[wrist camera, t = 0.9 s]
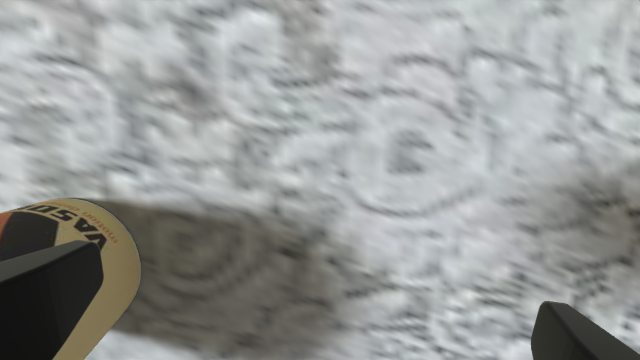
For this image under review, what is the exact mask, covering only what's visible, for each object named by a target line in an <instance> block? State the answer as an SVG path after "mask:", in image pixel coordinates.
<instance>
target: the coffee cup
mask: <svg viewBox="0 0 640 360" xmlns="http://www.w3.org/2000/svg"><path fill="white" fill-rule="evenodd" d="M75 240H84V241H92V242H95V243H97V244H98V246H99V248H100V253H101V259H102V266H103V272H104V280H103V283H102V286H101V288H100V289H99V291H98V293H97V294H96V296H95V297H94V299H93V300H92V302H91V303H90V305H89V307H88V308H87V310H86V311H85V313H84V314H83V316H82V317H81V319H80V321H79V322H78V324H77V325H76V327H75V328H74V330H73V332H72V333H71V335H70V336H69V338H68V339H67V341H66V342H65V344H64V345H63V346H62V348H61V349H60V351H59V352H58V353H57V355H56V356H55V357H54V359H53V360H84V359H85V358H86V357H87V355H88V354H89V353H90V352H91V351H92V350H93V348H94V347H95V346H96V345H97V344H98V343H99V341H100V340H101V339H102V338H103V337H104V336H105V334H106V333H107V332H108V331H109V330H110V329H111V327H112V326H113V325H114V324H115V323H116V322H117V320H118V319H119V318H120V317H121V315H122V314H123V313H124V312H125V310H126V309H127V308H128V307H129V305H130V304H131V303H132V301H133V299H134V297H135V295H136V293H137V291H138V288H139V284H140V278H141V262H140V256H139V252H138V249H137V247H136V244H135V242H134V240H133V238H132V236H131V234H130V233H129V232H128V230H127V229H126V228H125V226H124V225H123V224H122V223H121V222H120V221H119V220H118V219H117V218H116V217H115V216H114V215H113V214H111V213H110V212H108V211H107V210H105V209H104V208H102V207H100V206H98V205H96V204H93V203H91V202H88V201H84V200H79V199H71V198H61V199H53V200H49V201H44V202H40V203H36V204H32V205H28V206H25V207H21V208H17V209H14V210H10V211H6V212H3V213H0V262H2V261H6V260H9V259H13V258H16V257H19V256H23V255H26V254H30V253H33V252H37V251H40V250H44V249H47V248H50V247H54V246H57V245H61V244H64V243H68V242H71V241H75Z"/></svg>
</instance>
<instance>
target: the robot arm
mask: <svg viewBox="0 0 640 360" xmlns="http://www.w3.org/2000/svg"><path fill="white" fill-rule="evenodd" d="M103 280H104V272H103V266H102V259H101V253H100V248H99V246H98V244H97V243H95V242H92V241H84V240H75V241H71V242H68V243H64V244H61V245H57V246H54V247H50V248H47V249H44V250H40V251H37V252H33V253H30V254H26V255H23V256H19V257H16V258H13V259H9V260H6V261H2V262H0V360H53V359H54V357H55V356H56V355H57V353H58V352H59V351H60V349H61V348H62V346H63V345H64V344H65V342H66V341H67V339H68V338H69V336H70V335H71V333H72V332H73V330H74V328H75V327H76V325H77V324H78V322H79V321H80V319H81V317H82V316H83V314H84V313H85V311H86V310H87V308H88V307H89V305H90V303H91V302H92V300H93V299H94V297H95V296H96V294H97V293H98V291H99V289H100V288H101V286H102V283H103ZM531 350H532V355H533V360H640V354H638V353H637V352H635V351H634V350H633V349H631V348H630V347H628V346H627V345H625V344H624V343H623V342H621V341H620V340H618V339H617V338H615V337H614V336H612V335H611V334H610V333H608V332H607V331H605V330H604V329H602V328H601V327H600V326H598V325H597V324H595V323H594V322H592V321H591V320H590V319H588V318H587V317H585V316H584V315H582V314H581V313H579V312H578V311H577V310H575V309H574V308H572V307H571V306H569V305H568V304H565V303H558V302H551V301H545V302H543V303H542V304H541V306H540V308H539V311H538V315H537V318H536V322H535V325H534V329H533V333H532V337H531Z"/></svg>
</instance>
